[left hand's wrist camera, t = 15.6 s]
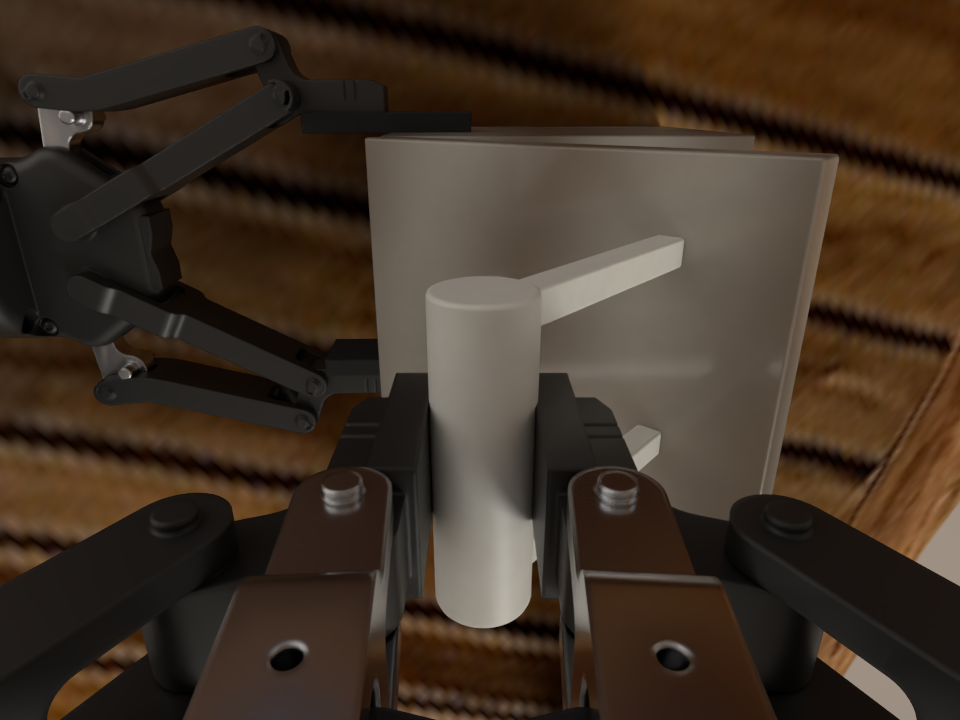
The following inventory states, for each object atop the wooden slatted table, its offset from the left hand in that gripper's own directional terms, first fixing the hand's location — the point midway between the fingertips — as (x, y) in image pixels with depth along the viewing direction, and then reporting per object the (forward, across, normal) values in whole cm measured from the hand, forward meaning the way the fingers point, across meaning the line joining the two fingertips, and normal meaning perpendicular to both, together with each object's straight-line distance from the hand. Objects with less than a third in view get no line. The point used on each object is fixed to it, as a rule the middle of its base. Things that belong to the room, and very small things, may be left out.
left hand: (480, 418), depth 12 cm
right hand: (+16, 0, 0) cm, 16 cm away
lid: (+7, -2, 0) cm, 8 cm away
